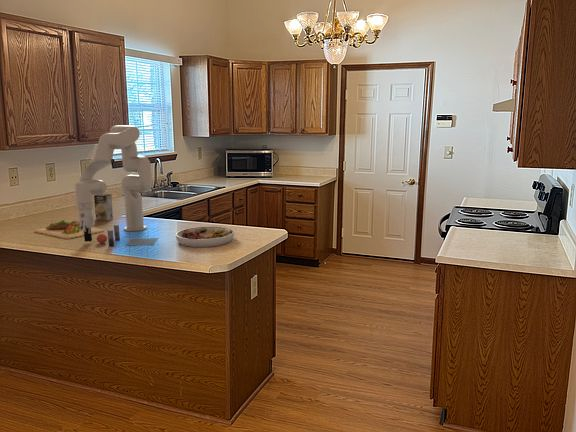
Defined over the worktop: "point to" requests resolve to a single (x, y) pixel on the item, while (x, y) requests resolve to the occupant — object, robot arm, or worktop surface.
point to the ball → (101, 238)
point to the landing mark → (141, 242)
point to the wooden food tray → (66, 229)
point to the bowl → (205, 236)
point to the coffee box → (103, 206)
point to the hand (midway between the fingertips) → (88, 240)
